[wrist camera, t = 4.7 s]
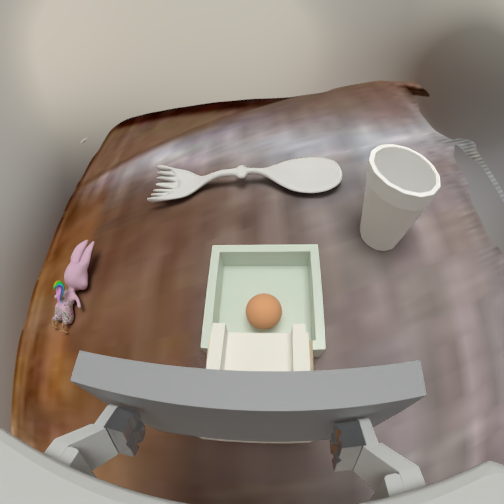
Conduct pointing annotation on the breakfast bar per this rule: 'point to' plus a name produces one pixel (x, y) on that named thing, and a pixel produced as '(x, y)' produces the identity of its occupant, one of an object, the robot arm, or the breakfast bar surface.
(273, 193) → the breakfast bar surface
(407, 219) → the foam cup
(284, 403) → the lever flap
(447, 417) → the breakfast bar surface
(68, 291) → the rabbit figure
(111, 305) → the breakfast bar surface
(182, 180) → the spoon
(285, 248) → the tray
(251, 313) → the ball
